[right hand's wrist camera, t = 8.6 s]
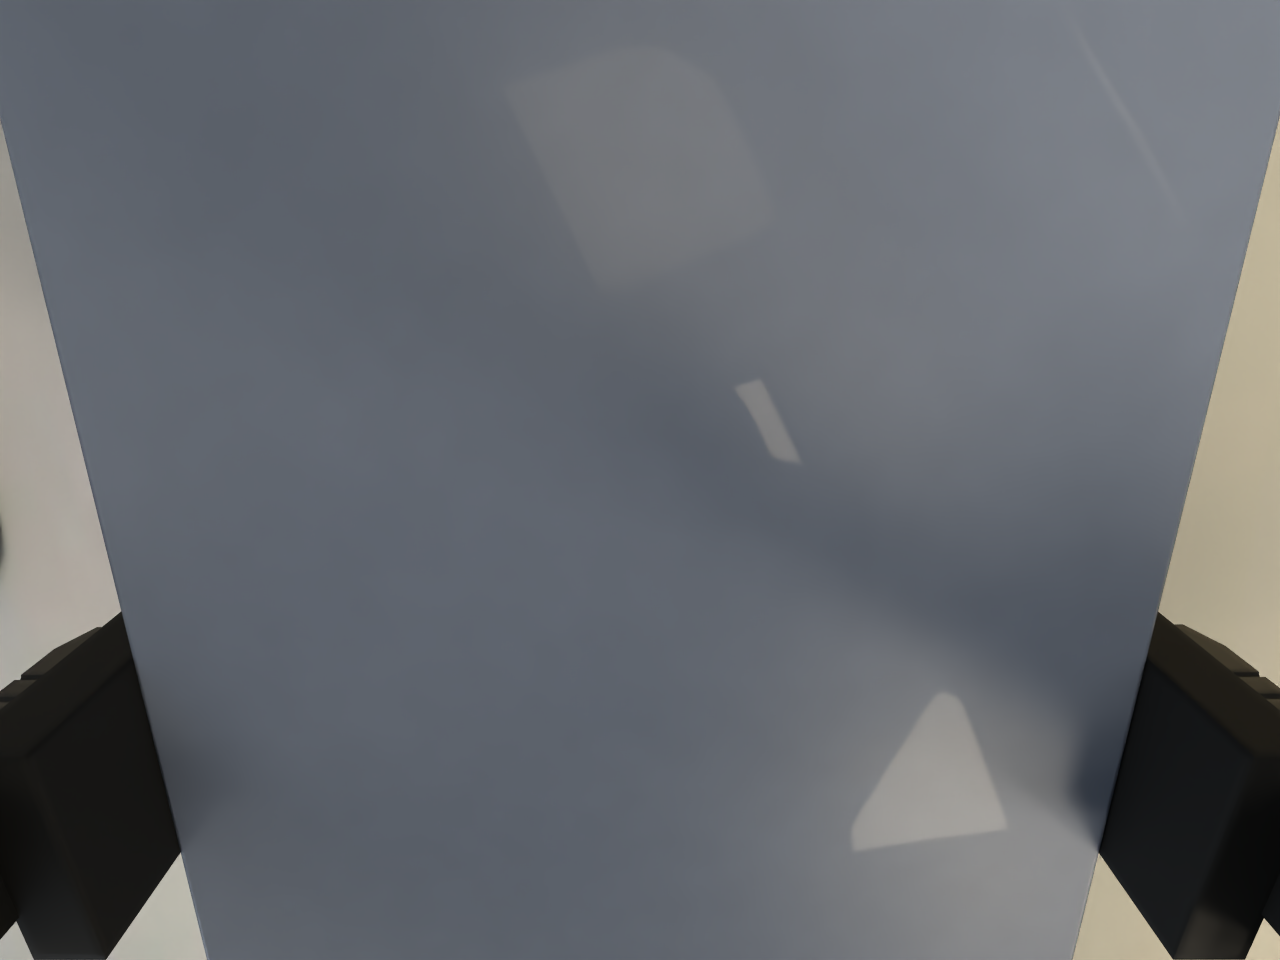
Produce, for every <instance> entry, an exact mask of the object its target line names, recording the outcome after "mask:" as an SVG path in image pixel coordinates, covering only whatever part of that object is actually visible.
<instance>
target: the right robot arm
mask: <svg viewBox="0 0 1280 960" xmlns="http://www.w3.org/2000/svg"><path fill="white" fill-rule="evenodd" d="M180 852H181V851H180V847H179V843H178V839H177V835H176V831H175V826H174V822H173V818H172V814H171V810H170V806H169V802H168V798H167V794H166V790H165V786H164V782H163V778H162V774H161V770H160V765H159V761H158V757H157V753H156V749H155V745H154V741H153V737H152V733H151V729H150V725H149V721H148V717H147V713H146V709H145V704H144V700H143V696H142V692H141V688H140V684H139V680H138V676H137V672H136V668H135V664H134V660H133V656H132V652H131V648H130V644H129V639H128V635H127V631H126V627H125V623H124V619H123V615H122V611H121V612H120V613H119V614H118V615H116V616H115V617H114V618H113V619H112V620H110V621H109V622H108V623H107V624H105V625H104V626H103V627H97V628H95V629H93V630H91V631H89V632H87V633H85V634H83V635H81V636H79V637H77V638H75V639H73V640H71V641H69V642H67V643H65V644H63V645H61V646H59V647H57V648H55V649H54V650H52V651H51V652H50V653H49V654H47V655H46V656H45V657H43V658H42V659H41V660H40V661H38V662H37V663H36V664H35V665H33V666H32V667H31V668H29V669H28V670H27V671H26V672H24V673H23V674H22V675H21V679H20V680H14V681H13V682H11V683H10V684H9V685H8V686H6V687H5V688H4V689H2V690H1V691H0V939H1V938H2V937H3V936H4V935H5V933H6V932H7V931H8V930H9V929H10V927H11V926H12V925H13V924H14V923H15V922H16V921H17V923H18V926H19V928H20V930H21V932H22V934H23V937H24V939H25V941H26V943H27V945H28V948H29V950H30V952H31V954H32V956H33V959H34V960H106V959H107V957H108V956H109V955H110V953H111V952H112V950H113V949H114V947H115V946H116V944H117V943H118V942H119V940H120V939H121V937H122V936H123V934H124V933H125V932H126V930H127V929H128V927H129V926H130V924H131V923H132V921H133V920H134V919H135V917H136V916H137V914H138V913H139V911H140V910H141V909H142V907H143V906H144V904H145V903H146V901H147V900H148V898H149V897H150V896H151V894H152V893H153V891H154V890H155V888H156V887H157V885H158V884H159V883H160V881H161V880H162V878H163V877H164V875H165V874H166V873H167V871H168V870H169V868H170V867H171V865H172V864H173V862H174V861H175V860H176V858H177V857H178V855H179V854H180ZM1099 853H1100V855H1101V856H1102V858H1103V859H1104V861H1105V862H1106V864H1107V865H1108V866H1109V868H1110V869H1111V871H1112V872H1113V874H1114V875H1115V876H1116V878H1117V879H1118V881H1119V882H1120V884H1121V885H1122V887H1123V888H1124V889H1125V891H1126V892H1127V894H1128V895H1129V897H1130V898H1131V899H1132V901H1133V902H1134V904H1135V905H1136V907H1137V908H1138V910H1139V911H1140V912H1141V914H1142V915H1143V917H1144V918H1145V920H1146V921H1147V923H1148V924H1149V925H1150V927H1151V928H1152V930H1153V931H1154V933H1155V934H1156V935H1157V937H1158V938H1159V940H1160V941H1161V943H1162V944H1163V946H1164V947H1165V948H1166V950H1167V951H1168V953H1169V954H1170V956H1171V957H1172V958H1173V960H1245V958H1246V956H1247V954H1248V952H1249V949H1250V947H1251V945H1252V943H1253V941H1254V938H1255V936H1256V934H1257V932H1258V930H1259V927H1260V925H1261V923H1262V921H1263V919H1264V918H1265V919H1266V921H1267V922H1268V923H1269V924H1270V925H1271V926H1272V928H1273V929H1274V930H1275V931H1276V932H1277V933H1278V935H1279V936H1280V688H1279V687H1278V686H1276V685H1275V684H1274V683H1272V682H1271V681H1270V680H1269V679H1267V678H1266V677H1260V676H1259V672H1258V671H1257V670H1256V669H1254V668H1253V667H1252V666H1251V665H1249V664H1248V663H1247V662H1245V661H1244V660H1243V659H1242V658H1240V657H1239V656H1238V655H1236V654H1235V653H1234V652H1232V651H1231V650H1230V649H1229V648H1227V647H1226V646H1224V645H1222V644H1220V643H1218V642H1216V641H1214V640H1212V639H1210V638H1208V637H1206V636H1204V635H1202V634H1200V633H1199V632H1197V631H1195V630H1193V629H1191V628H1189V627H1187V626H1185V625H1174V624H1173V623H1171V622H1170V621H1169V620H1168V619H1166V618H1165V617H1164V616H1163V615H1162V614H1160V613H1159V612H1158V613H1157V617H1156V621H1155V625H1154V629H1153V633H1152V638H1151V642H1150V646H1149V650H1148V654H1147V658H1146V662H1145V666H1144V670H1143V674H1142V678H1141V682H1140V686H1139V690H1138V695H1137V699H1136V703H1135V707H1134V711H1133V715H1132V719H1131V723H1130V727H1129V731H1128V735H1127V739H1126V743H1125V747H1124V752H1123V756H1122V760H1121V764H1120V768H1119V772H1118V776H1117V780H1116V784H1115V788H1114V792H1113V796H1112V800H1111V804H1110V809H1109V813H1108V817H1107V821H1106V825H1105V829H1104V833H1103V837H1102V841H1101V845H1100V849H1099Z"/></svg>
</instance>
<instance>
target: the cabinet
mask: <svg viewBox="0 0 1280 960" xmlns="http://www.w3.org/2000/svg"><path fill="white" fill-rule="evenodd" d="M1279 116H1280V0H0V119H1V123H2V127H3V131H4V135H5V139H6V143H7V147H8V151H9V156H10V160H11V164H12V168H13V172H14V176H15V180H16V184H17V188H18V192H19V196H20V200H21V204H22V208H23V212H24V217H25V221H26V225H27V229H28V233H29V237H30V241H31V245H32V249H33V253H34V257H35V261H36V265H37V269H38V273H39V278H40V282H41V286H42V290H43V294H44V298H45V302H46V306H47V310H48V314H49V318H50V322H51V326H52V330H53V334H54V339H55V343H56V347H57V351H58V355H59V359H60V363H61V367H62V371H63V375H64V379H65V383H66V387H67V391H68V395H69V400H70V404H71V408H72V412H73V416H74V420H75V424H76V428H77V432H78V436H79V440H80V444H81V448H82V452H83V456H84V461H85V465H86V469H87V473H88V477H89V481H90V485H91V489H92V493H93V497H94V501H95V505H96V509H97V513H98V517H99V522H100V526H101V530H102V534H103V538H104V542H105V546H106V550H107V554H108V558H109V562H110V566H111V570H112V574H113V578H114V583H115V587H116V591H117V595H118V599H119V603H120V607H121V611H122V615H123V619H124V623H125V627H126V631H127V635H128V639H129V644H130V648H131V652H132V656H133V660H134V664H135V668H136V672H137V676H138V680H139V684H140V688H141V692H142V696H143V700H144V704H145V709H146V713H147V717H148V721H149V725H150V729H151V733H152V737H153V741H154V745H155V749H156V753H157V757H158V761H159V765H160V770H161V774H162V778H163V782H164V786H165V790H166V794H167V798H168V802H169V806H170V810H171V814H172V818H173V822H174V826H175V831H176V835H177V839H178V843H179V847H180V851H181V855H182V859H183V863H184V867H185V871H186V875H187V879H188V883H189V887H190V892H191V896H192V900H193V904H194V908H195V912H196V916H197V920H198V924H199V928H200V932H201V936H202V940H203V944H204V948H205V953H206V957H207V960H1072V959H1073V955H1074V951H1075V947H1076V943H1077V939H1078V935H1079V931H1080V927H1081V923H1082V918H1083V914H1084V910H1085V906H1086V902H1087V898H1088V894H1089V890H1090V886H1091V882H1092V878H1093V874H1094V870H1095V866H1096V861H1097V857H1098V853H1099V849H1100V845H1101V841H1102V837H1103V833H1104V829H1105V825H1106V821H1107V817H1108V813H1109V809H1110V804H1111V800H1112V796H1113V792H1114V788H1115V784H1116V780H1117V776H1118V772H1119V768H1120V764H1121V760H1122V756H1123V752H1124V747H1125V743H1126V739H1127V735H1128V731H1129V727H1130V723H1131V719H1132V715H1133V711H1134V707H1135V703H1136V699H1137V695H1138V690H1139V686H1140V682H1141V678H1142V674H1143V670H1144V666H1145V662H1146V658H1147V654H1148V650H1149V646H1150V642H1151V638H1152V633H1153V629H1154V625H1155V621H1156V617H1157V613H1158V609H1159V605H1160V601H1161V597H1162V593H1163V589H1164V585H1165V581H1166V576H1167V572H1168V568H1169V564H1170V560H1171V556H1172V552H1173V548H1174V544H1175V540H1176V536H1177V532H1178V528H1179V524H1180V519H1181V515H1182V511H1183V507H1184V503H1185V499H1186V495H1187V491H1188V487H1189V483H1190V479H1191V475H1192V471H1193V467H1194V462H1195V458H1196V454H1197V450H1198V446H1199V442H1200V438H1201V434H1202V430H1203V426H1204V422H1205V418H1206V414H1207V410H1208V405H1209V401H1210V397H1211V393H1212V389H1213V385H1214V381H1215V377H1216V373H1217V369H1218V365H1219V361H1220V357H1221V353H1222V348H1223V344H1224V340H1225V336H1226V332H1227V328H1228V324H1229V320H1230V316H1231V312H1232V308H1233V304H1234V300H1235V296H1236V291H1237V287H1238V283H1239V279H1240V275H1241V271H1242V267H1243V263H1244V259H1245V255H1246V251H1247V247H1248V243H1249V239H1250V234H1251V230H1252V226H1253V222H1254V218H1255V214H1256V210H1257V206H1258V202H1259V198H1260V194H1261V190H1262V186H1263V182H1264V177H1265V173H1266V169H1267V165H1268V161H1269V157H1270V153H1271V149H1272V145H1273V141H1274V137H1275V133H1276V129H1277V125H1278V120H1279Z"/></svg>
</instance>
